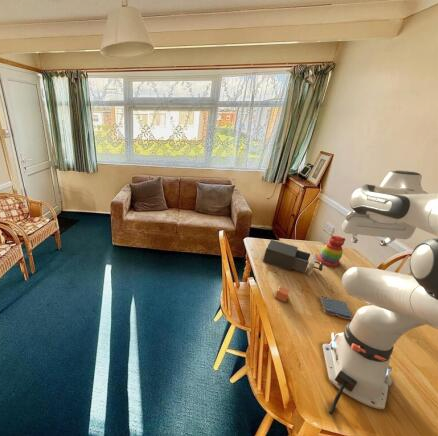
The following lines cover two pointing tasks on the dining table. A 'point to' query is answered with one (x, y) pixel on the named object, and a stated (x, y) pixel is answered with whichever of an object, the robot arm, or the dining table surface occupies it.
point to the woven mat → (335, 307)
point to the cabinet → (280, 254)
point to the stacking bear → (332, 251)
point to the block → (282, 294)
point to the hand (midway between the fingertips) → (367, 243)
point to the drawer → (305, 262)
